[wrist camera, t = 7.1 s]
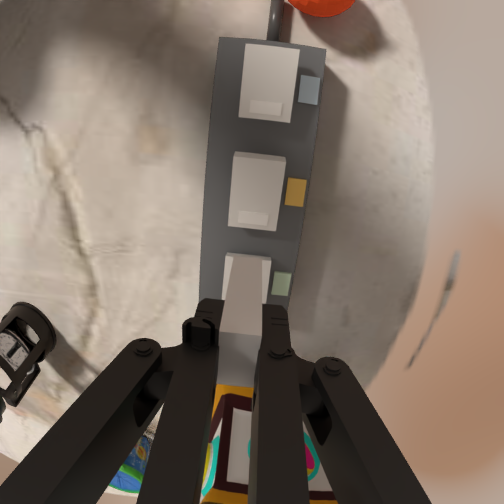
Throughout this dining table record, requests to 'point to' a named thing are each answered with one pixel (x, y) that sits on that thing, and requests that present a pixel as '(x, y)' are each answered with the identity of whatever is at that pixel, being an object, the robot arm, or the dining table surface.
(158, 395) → the robot arm
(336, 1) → the clementine
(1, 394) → the french press
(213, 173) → the power strip
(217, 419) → the decorative lantern
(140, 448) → the snack cup
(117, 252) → the dining table surface
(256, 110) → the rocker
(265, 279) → the rocker
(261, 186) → the plate
